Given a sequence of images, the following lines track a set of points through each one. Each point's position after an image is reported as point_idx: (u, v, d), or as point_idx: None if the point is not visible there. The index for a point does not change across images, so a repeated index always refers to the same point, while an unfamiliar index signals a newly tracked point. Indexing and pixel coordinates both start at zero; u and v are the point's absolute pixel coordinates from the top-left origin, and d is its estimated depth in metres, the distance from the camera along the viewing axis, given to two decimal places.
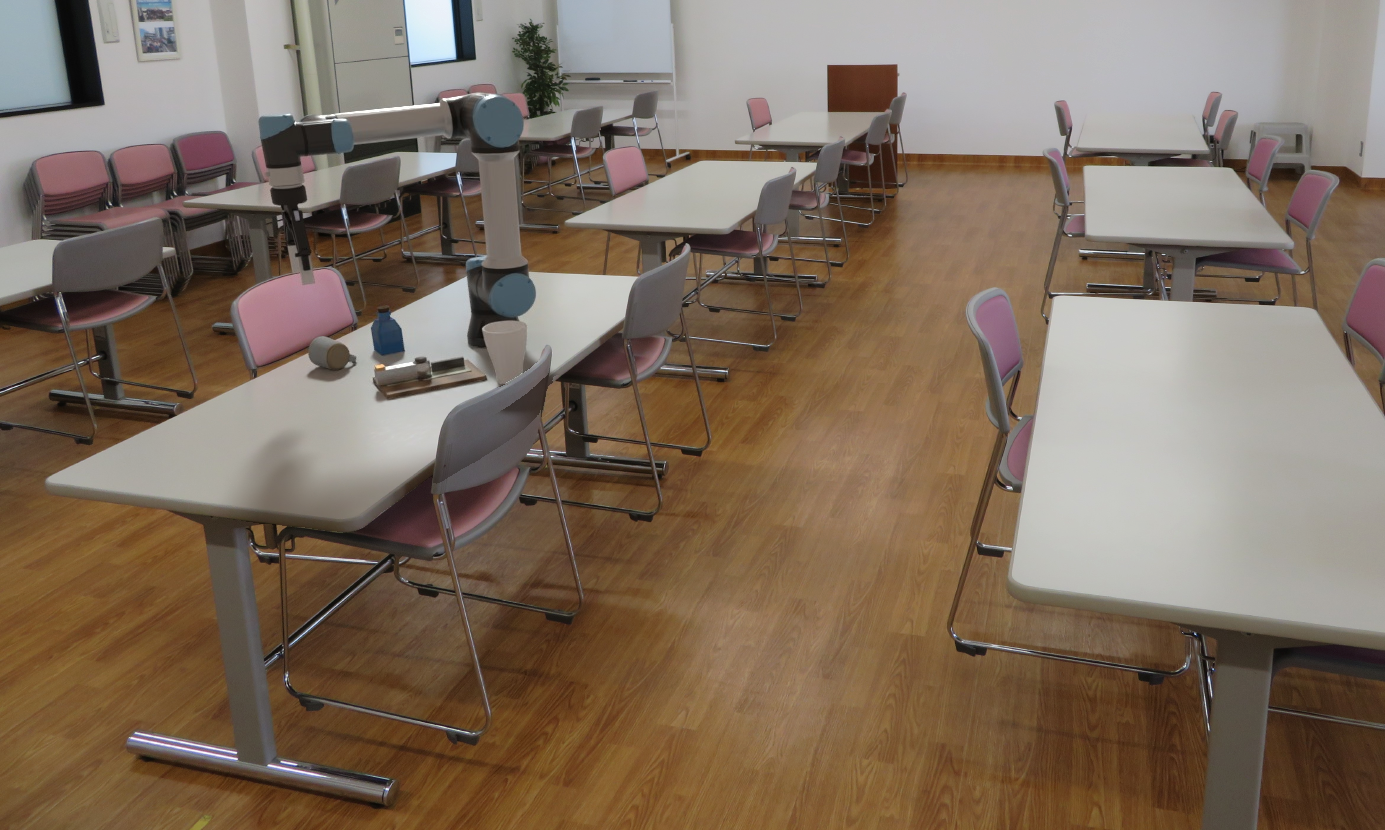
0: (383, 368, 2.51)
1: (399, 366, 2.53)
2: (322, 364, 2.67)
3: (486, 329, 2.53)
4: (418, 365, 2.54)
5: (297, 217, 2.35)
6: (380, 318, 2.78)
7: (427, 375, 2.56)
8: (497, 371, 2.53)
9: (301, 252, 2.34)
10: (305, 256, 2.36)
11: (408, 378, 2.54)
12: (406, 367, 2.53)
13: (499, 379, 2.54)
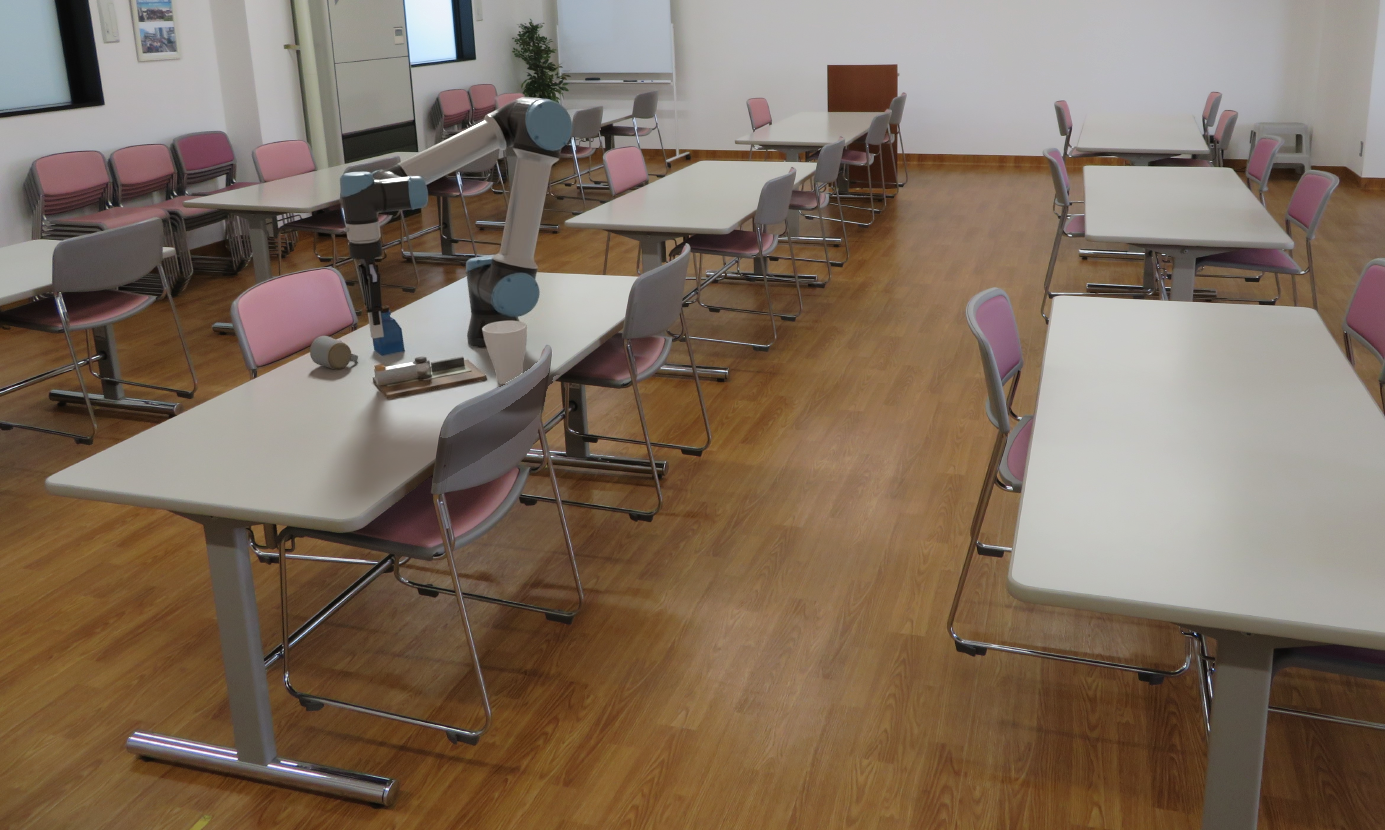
0: (383, 368, 2.51)
1: (399, 366, 2.53)
2: (324, 363, 2.68)
3: (486, 329, 2.53)
4: (418, 365, 2.54)
5: (375, 280, 2.47)
6: None
7: (427, 375, 2.56)
8: (497, 371, 2.53)
9: (373, 310, 2.51)
10: (376, 312, 2.53)
11: (408, 378, 2.54)
12: (406, 367, 2.53)
13: (499, 379, 2.54)
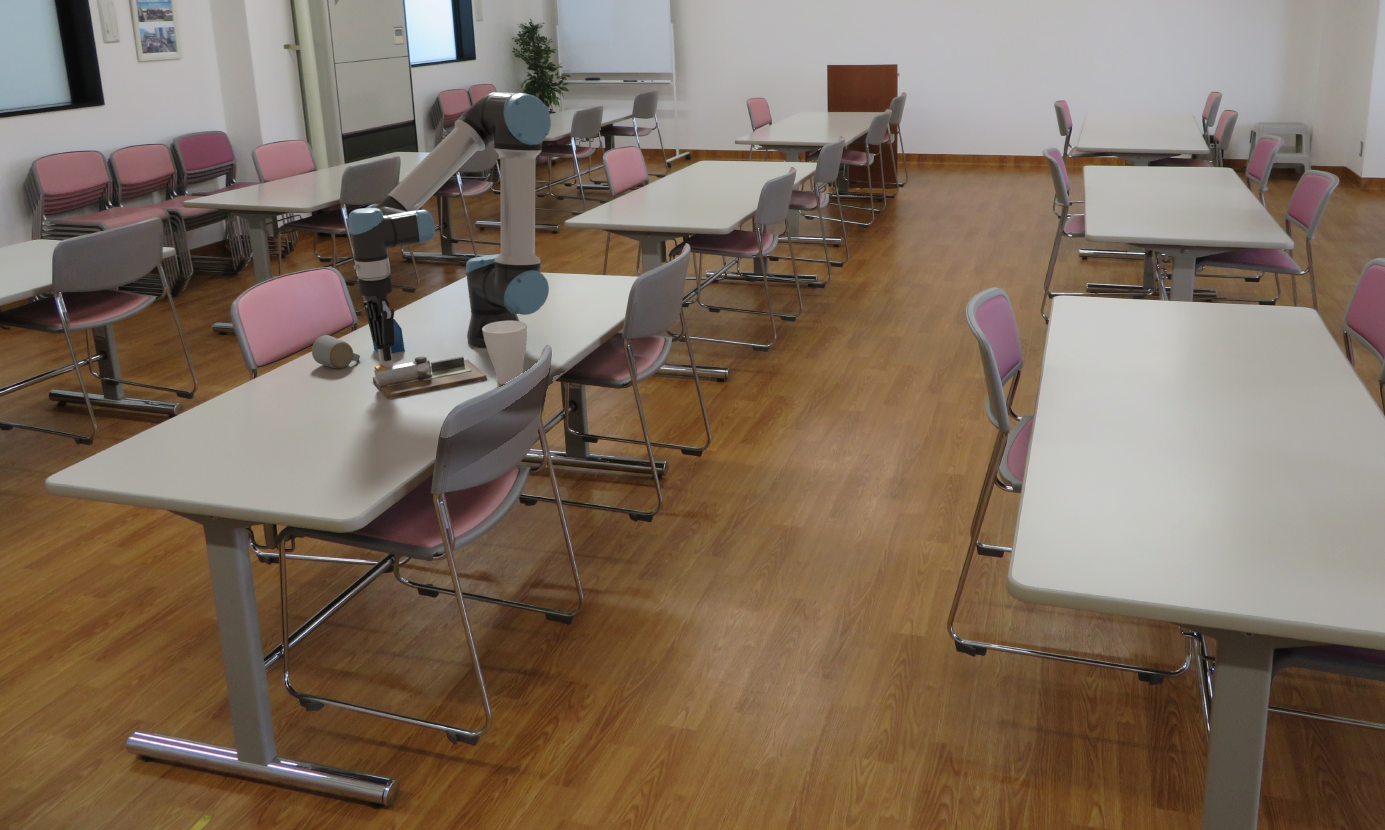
0: (384, 368, 2.50)
1: (399, 366, 2.53)
2: (326, 363, 2.68)
3: (486, 329, 2.53)
4: (418, 365, 2.54)
5: (389, 317, 2.45)
6: None
7: (427, 375, 2.56)
8: (497, 371, 2.53)
9: (386, 346, 2.49)
10: (387, 348, 2.51)
11: (408, 378, 2.54)
12: (406, 367, 2.53)
13: (499, 379, 2.54)
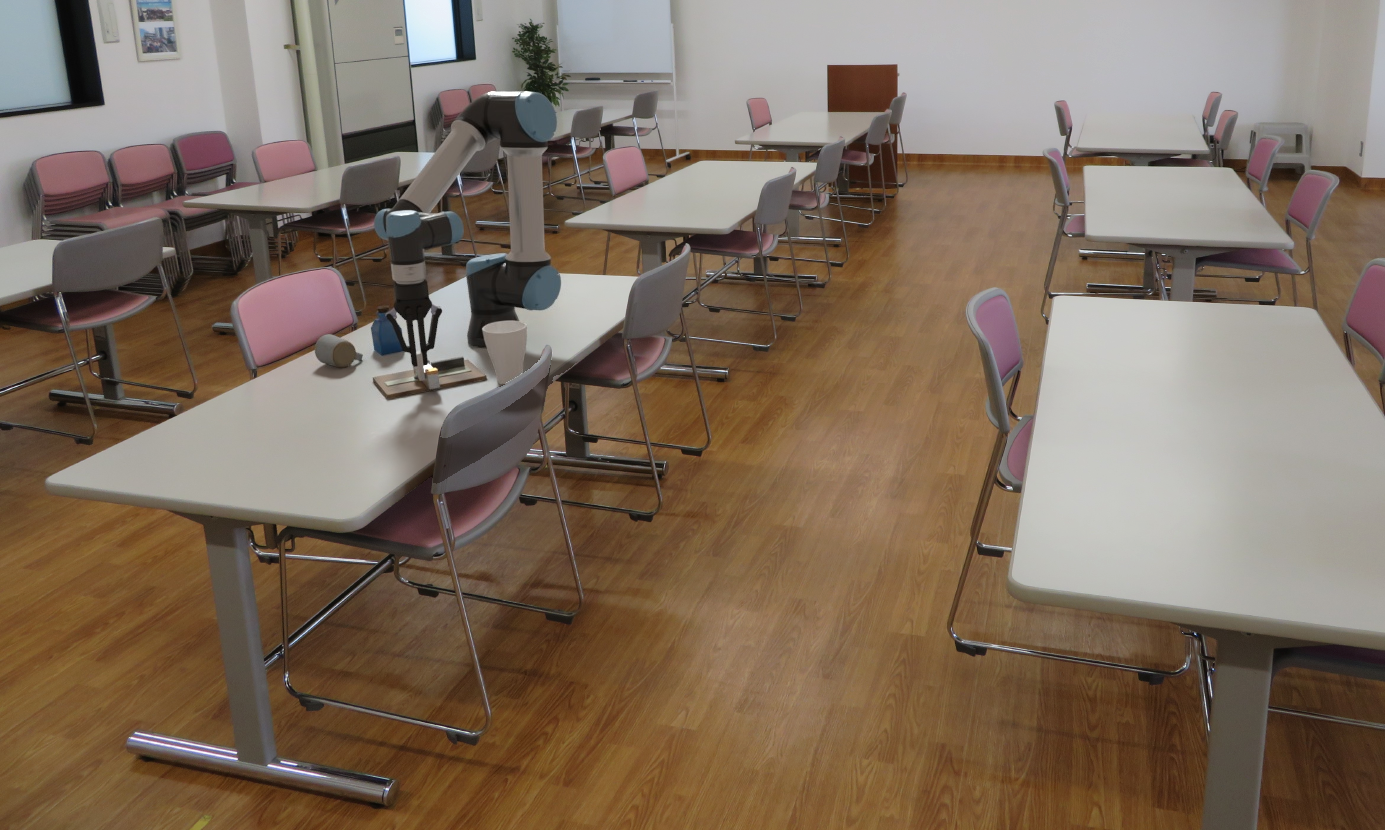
0: None
1: (428, 367, 2.52)
2: (328, 362, 2.69)
3: (486, 329, 2.53)
4: (429, 362, 2.56)
5: None
6: (380, 318, 2.78)
7: None
8: (497, 371, 2.53)
9: (433, 347, 2.47)
10: None
11: None
12: None
13: (499, 379, 2.54)
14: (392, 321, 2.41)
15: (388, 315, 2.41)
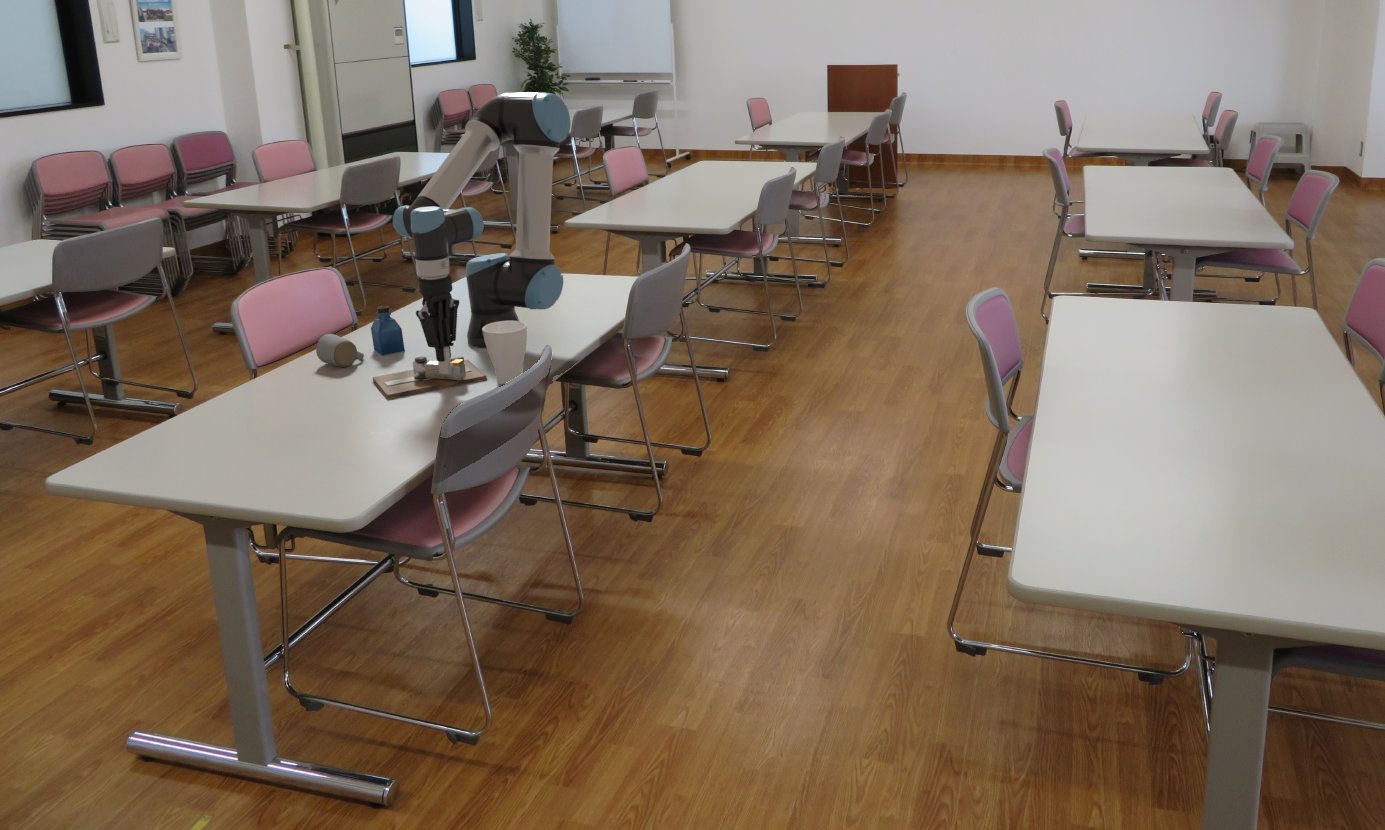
0: None
1: None
2: (330, 361, 2.69)
3: (486, 329, 2.53)
4: None
5: None
6: (380, 318, 2.78)
7: None
8: (497, 371, 2.53)
9: None
10: None
11: None
12: None
13: (499, 379, 2.54)
14: (428, 318, 2.43)
15: (425, 312, 2.42)
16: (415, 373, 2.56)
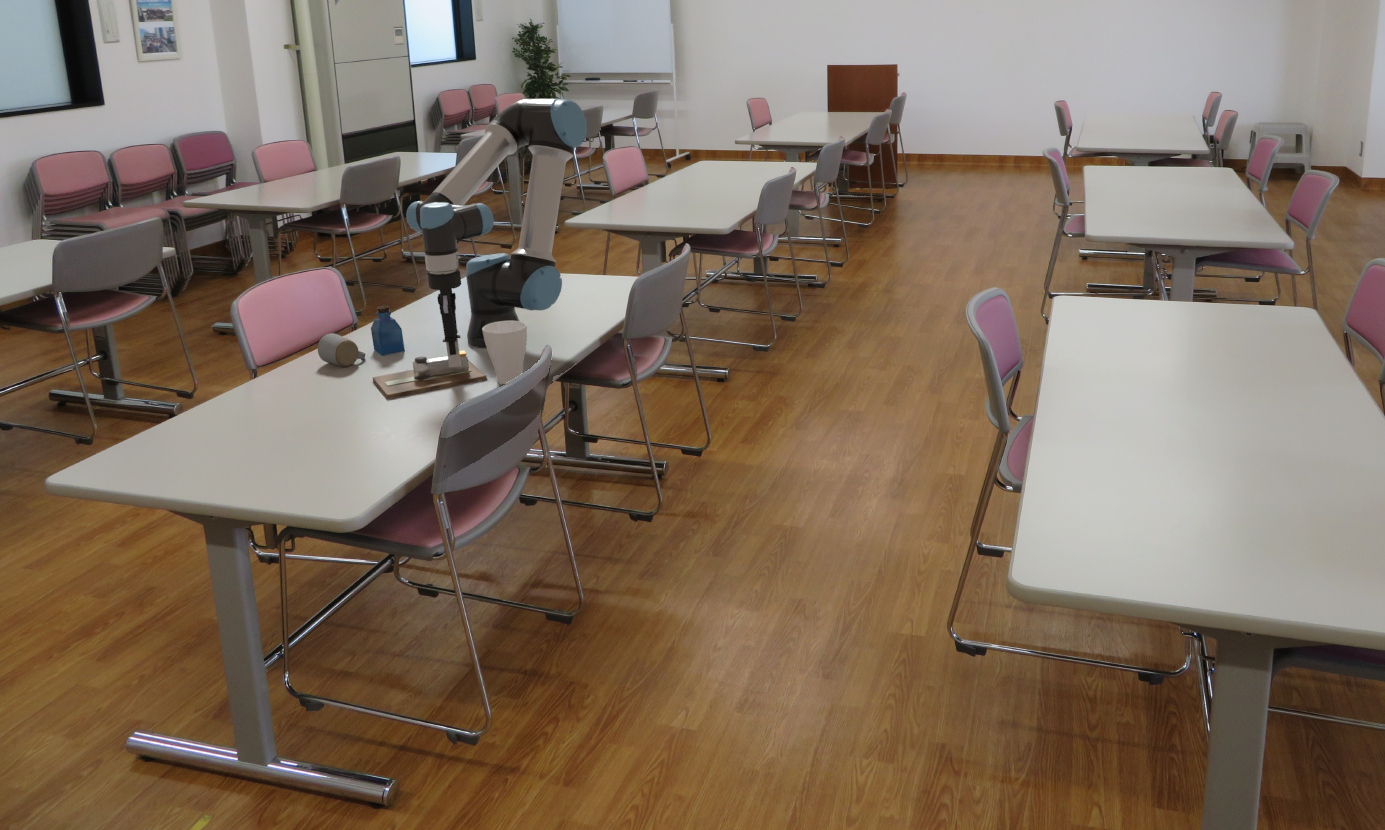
0: None
1: (442, 358, 2.58)
2: (331, 361, 2.69)
3: (486, 329, 2.53)
4: None
5: None
6: (380, 318, 2.78)
7: None
8: (497, 371, 2.53)
9: None
10: None
11: None
12: None
13: (499, 379, 2.54)
14: (451, 311, 2.47)
15: (450, 306, 2.46)
16: (420, 374, 2.55)
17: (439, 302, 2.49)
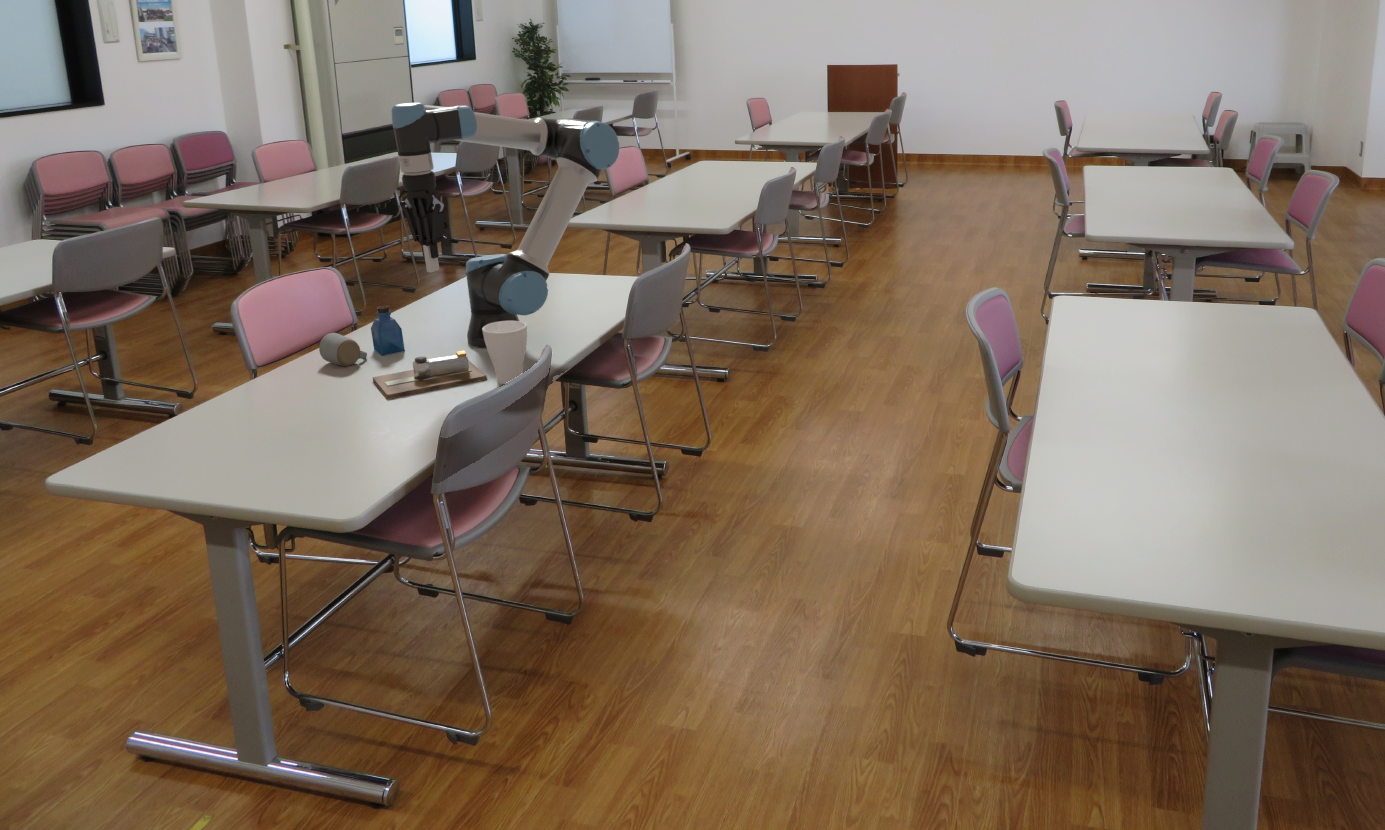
0: None
1: (442, 358, 2.58)
2: (333, 360, 2.70)
3: (486, 329, 2.53)
4: None
5: (441, 209, 2.48)
6: (380, 318, 2.78)
7: None
8: (497, 371, 2.53)
9: (437, 242, 2.51)
10: (435, 244, 2.53)
11: None
12: None
13: (499, 379, 2.54)
14: (404, 209, 2.52)
15: (401, 203, 2.52)
16: (420, 374, 2.55)
17: None
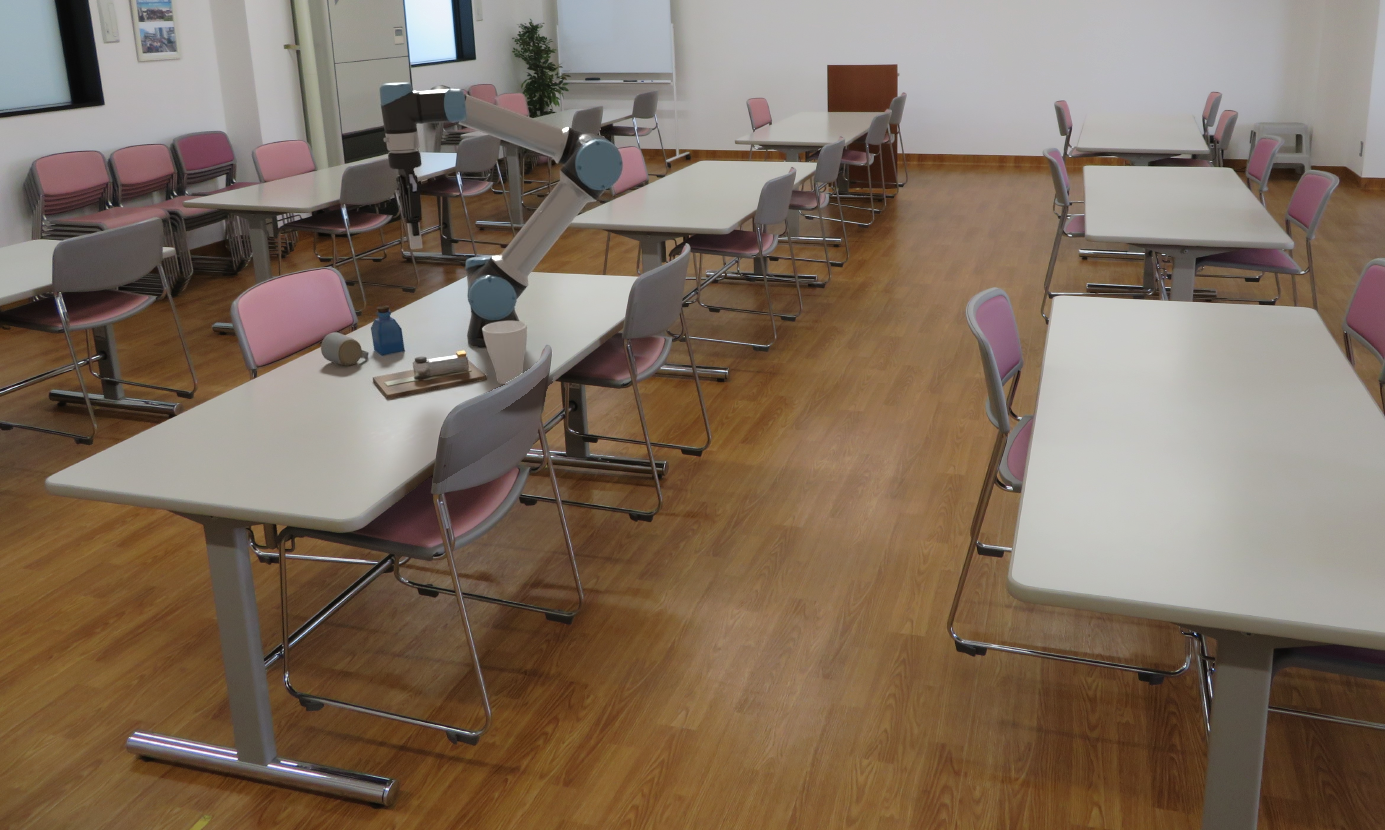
0: None
1: (442, 358, 2.58)
2: (334, 360, 2.70)
3: (486, 329, 2.53)
4: None
5: (414, 189, 2.52)
6: (380, 318, 2.78)
7: None
8: (497, 371, 2.53)
9: (413, 220, 2.56)
10: (415, 222, 2.58)
11: None
12: None
13: (499, 379, 2.54)
14: (398, 185, 2.60)
15: (396, 179, 2.60)
16: (420, 374, 2.55)
17: None
